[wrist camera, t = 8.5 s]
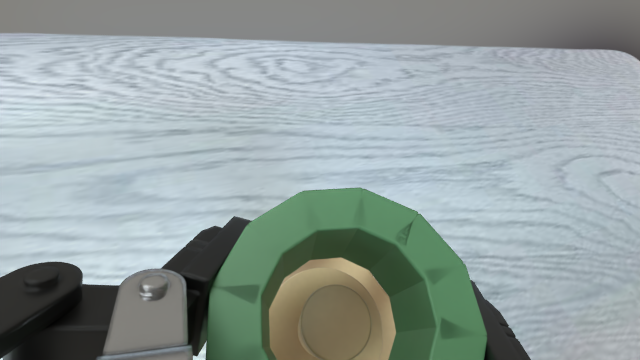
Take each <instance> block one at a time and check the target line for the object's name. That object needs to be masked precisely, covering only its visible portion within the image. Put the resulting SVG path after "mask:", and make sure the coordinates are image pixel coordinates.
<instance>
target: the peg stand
mask: <svg viewBox="0 0 640 360" xmlns="http://www.w3.org/2000/svg"><path fill="white" fill-rule="evenodd" d="M269 327H270V348H271V350H272V352H273V353H274V355H275V357H276V358H277V360H388V359H389V356H390V352H391V349H392V345H393V342H394V338H395V335H396V329H395V324H394V319H393V314H392V308H391V303H390V298H389V296H388V295H387V293H386V292H385V291H384V290H383V288H382V287H381V286H380V284H379V283H378V282H377V280H376V279H375V278H374V276H373V275H372V274H371V273H370V271H369V270H367V269H365V268H363V267H361V266H358V265H356V264H354V263H352V262H350V261H348V260H346V259H343V258H329V259H317V260H310V261H308V262H307V263H305V264H304V265H303V266H301V267H300V268H298V269H297V270H295V271H294V272H293V273H291V274H290V275H288V276H287V277H285V278H284V280H283V282H282V284H281V286H280V288H279V290H278V292H277V294H276V296H275V298H274V300H273V302H272V304H271V306H270V309H269Z"/></svg>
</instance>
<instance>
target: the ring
mask: <svg viewBox="0 0 640 360" xmlns="http://www.w3.org/2000/svg"><path fill="white" fill-rule="evenodd" d="M329 258H343V259H346V260H348V261H350V262H352V263H354V264H356V265H358V266H361V267H363V268H365V269H367V270H369V271H370V272H371V273H372V275H373V276H374V277H375V279H376V280H377V281H378V283H379V284H380V285H381V287H382V288H383V289H384V291H385V292H386V293H387V294H388V296H389V298H390V303H391V308H392V314H393V319H394V324H395V329H396V335H395V338H394V342H393V345H392V349H391V352H390V356H389V359H388V360H484V357H485V351H486V345H487V337H486V336H487V332H486V329H485V326H484V323H483V319H482V316H481V313H480V310H479V307H478V303H477V300H476V297H475V294H474V291H473V287H472V284H471V281H470V278H469V275H468V271H467V268H466V265H465V264H463V261H462V260H461V259H460V258H459V257H458V256H457V254H456V253H455V252H454V251H453V250H452V249H451V248H450V247H449V246H448V244H447V243H446V242H445V241H444V240H443V239H442V238H441V237H440V235H439V234H438V233H437V232H436V231H435V230H434V229H433V228H432V226H431V225H430V224H429V223H428V222H427V221H426V220H425V219H424V217H423V216H422V215H421V214H418V212H417V211H414V210H412V209H410V208H407V207H405V206H403V205H401V204H398V203H396V202H394V201H391V200H389V199H387V198H384V197H382V196H380V195H377V194H375V193H373V192H370V191H368V190H366V189H362V188H345V189H327V190H309V191H302V192H300V193H298V194H296V195H295V196H293V197H291V198H290V199H288V200H286V201H285V202H283V203H281V204H280V205H278V206H276V207H275V208H273V209H271V210H270V211H268V212H266V213H265V214H263V215H261V216H260V217H258V218H257V219H255V220H253V221H252V222H250V223H249V224H248V225H247V226H246V227H245V229H244V230H243V232H242V234H241V235H240V237H239V239H238V240H237V242H236V244H235V245H234V247H233V249H232V250H231V252H230V254H229V255H228V257H227V259H226V260H225V262H224V264H223V265H222V267H221V269H220V270H219V272H218V274H217V275H216V277H215V279H214V281H213V284H212V287H211V288H210V292H209V306H208V325H207V344H206V360H277V358H276V357H275V355H274V353H273V352H272V350H271V348H270V327H269V309H270V306H271V304H272V302H273V300H274V298H275V296H276V294H277V292H278V290H279V288H280V286H281V284H282V282H283V280H284V278H285V277H287V276H288V275H290V274H291V273H293V272H294V271H295V270H297V269H298V268H300V267H301V266H303V265H304V264H305V263H307V262H308V261H310V260H317V259H329Z"/></svg>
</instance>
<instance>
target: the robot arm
mask: <svg viewBox="0 0 640 360" xmlns="http://www.w3.org/2000/svg"><path fill="white" fill-rule="evenodd" d="M250 222H252V221H250V220H246V219H243V218H239V217H235V216H234V217H233V218H232V219H231V220H230V221H229V222H228V223H227V224H226V225H225V226H224V227H223V228H221V227H217V226H213V227H211V228H208V229H206V230H203V231H201V232H200V233H199V234H198V235H197V236H196V237H195V238H194V239H193V241H192V240H191V241H190V242H189V243H188V244H187V245H186V247H184V248H183V249H182V250H180V251H179V252H178V253H177V254H176V255H175V256H174V257H173V258H172V259H171V260H170V261H168V262H167V263H166V264H165V265H164V266H163V267H162V268H161V269H148V270H143V271H140V272H137V273H134V274H132V275H131V276H129V277H128V278H126V279H125V280H124V281H123V282H122V283H121V285H119V286H111V285H86V284H82V276H83V274H82V271H81V270H80V269H79V268H78V267H77V266H75V265H72V264H69V263H64V262H45V263H38V264H33V265H29V266H26V267H23V268H20V269H18V270H15V271H13V272H11V273H9V274H7V275H5V276H3V277H0V359H1V358H2V357H3V360H193V355H194V356H198V354H199V352H200V351H201V349H202V347H203V346H204V344H205V342H206V341H207V325H208V306H209V292H210V288H211V287H212V284H213V281H214V279H215V277H216V275H217V274H218V272H219V270H220V269H221V267H222V265H223V264H224V262H225V260H226V259H227V257H228V255H229V254H230V252H231V250H232V249H233V247H234V245H235V244H236V242H237V240H238V239H239V237H240V235H241V234H242V232H243V230H244V229H245V227H246V226H247V225H248V224H249V223H250ZM470 281H471V284H472V287H473V291H474V294H475V297H476V300H477V303H478V307H479V310H480V313H481V316H482V319H483V323H484V326H485V329H486V332H487V336H486V337H487V345H486V351H485V357H484V360H531V359H530V358H529V356H528V355H527V353H526V351H525V350H524V348H523V347H522V345H521V344H520V342H519V341H518V339H515V335H514V333H513V331H512V330H511V328H509V327H508V326H509V325H508V324H507V322H506V321H505V319H504V318H503V316H502V315H501V313H500V312H499V311H498V310H497V309H496V308H495V307H494V306H493V305H492V304H491V303H489V302H488V301H487V300H485V299H484V298H483V296H482V294H481V293H480V291H479V289H478V288H477V286H476V285H475V283H474V282H473V281H472V280H470Z"/></svg>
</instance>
